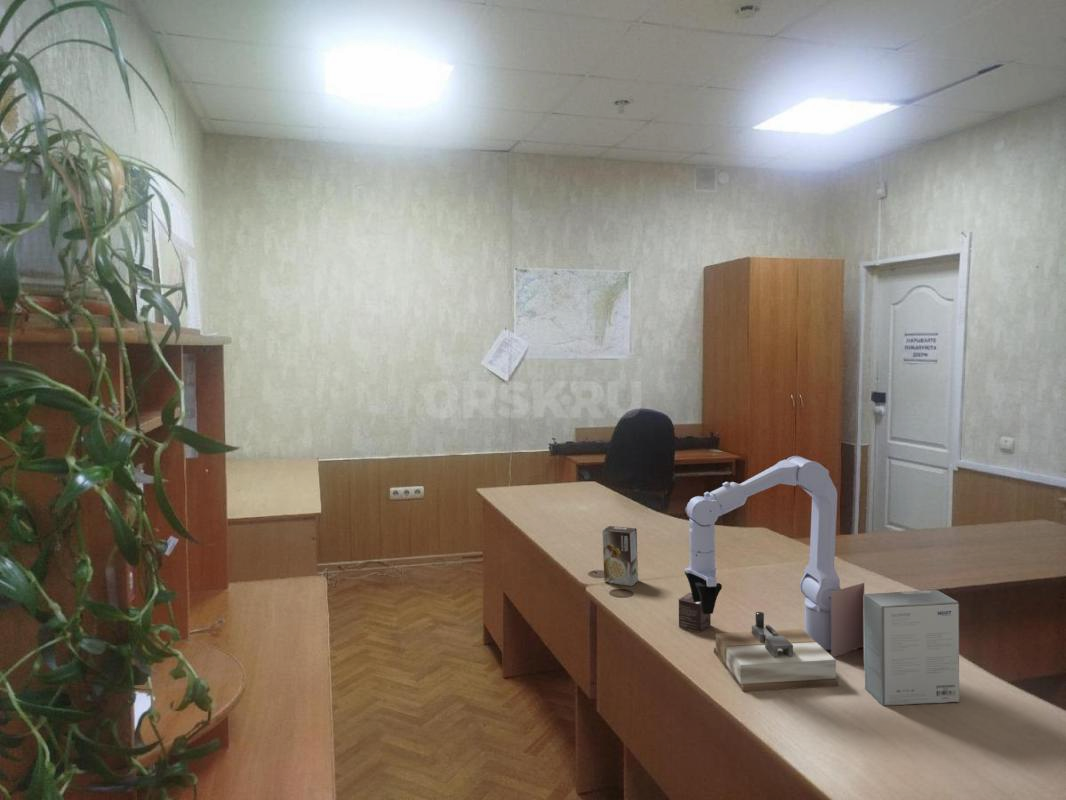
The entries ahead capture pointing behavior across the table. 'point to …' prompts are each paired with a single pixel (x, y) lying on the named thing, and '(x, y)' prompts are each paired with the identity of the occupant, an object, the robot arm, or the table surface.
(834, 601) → the greeting card
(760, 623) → the bolt
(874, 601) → the hard drive box
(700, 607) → the box
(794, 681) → the wooden board with latch
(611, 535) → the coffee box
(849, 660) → the table surface
